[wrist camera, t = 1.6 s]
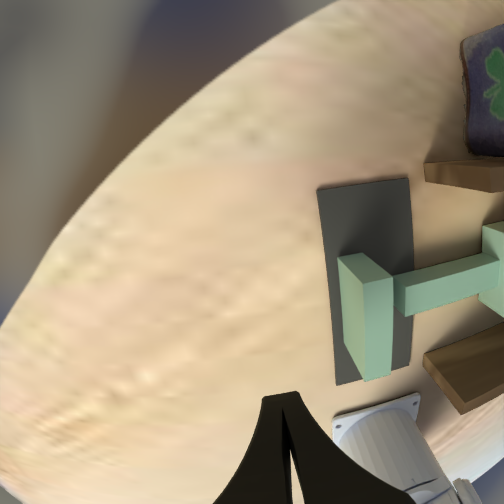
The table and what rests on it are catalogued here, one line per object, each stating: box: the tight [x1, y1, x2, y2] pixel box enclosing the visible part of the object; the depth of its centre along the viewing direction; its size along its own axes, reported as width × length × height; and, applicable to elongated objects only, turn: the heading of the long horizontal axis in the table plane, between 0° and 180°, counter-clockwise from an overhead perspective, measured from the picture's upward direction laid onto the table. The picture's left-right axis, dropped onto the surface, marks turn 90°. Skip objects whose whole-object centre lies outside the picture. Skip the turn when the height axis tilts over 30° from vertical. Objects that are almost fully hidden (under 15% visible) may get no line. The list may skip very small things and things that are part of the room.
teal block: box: [337, 221, 504, 382], centre depth 17 cm, size 6×20×5 cm, turn 100°
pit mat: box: [316, 178, 414, 386], centre depth 19 cm, size 14×6×1 cm, turn 10°
